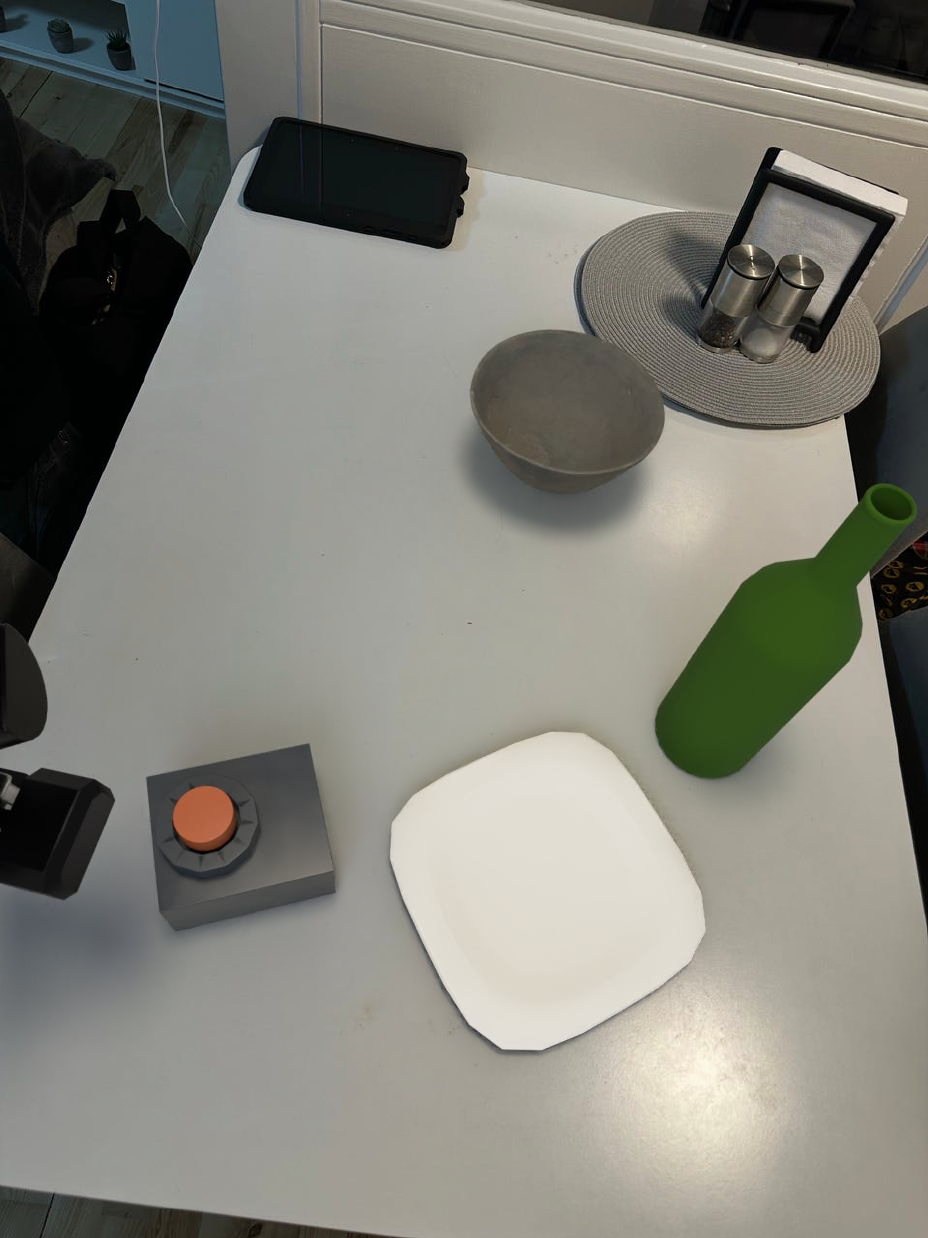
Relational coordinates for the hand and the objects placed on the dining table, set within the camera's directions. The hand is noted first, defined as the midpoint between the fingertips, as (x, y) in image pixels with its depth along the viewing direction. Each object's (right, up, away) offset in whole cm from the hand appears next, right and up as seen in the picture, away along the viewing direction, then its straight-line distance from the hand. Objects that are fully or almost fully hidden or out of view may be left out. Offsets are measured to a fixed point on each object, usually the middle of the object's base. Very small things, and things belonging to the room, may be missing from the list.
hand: (23, 842), depth 56 cm
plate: (+34, -7, +14) cm, 38 cm away
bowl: (+37, +30, +37) cm, 60 cm away
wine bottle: (+49, +4, +22) cm, 54 cm away
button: (+10, 0, +6) cm, 12 cm away
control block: (+11, -4, +13) cm, 17 cm away
